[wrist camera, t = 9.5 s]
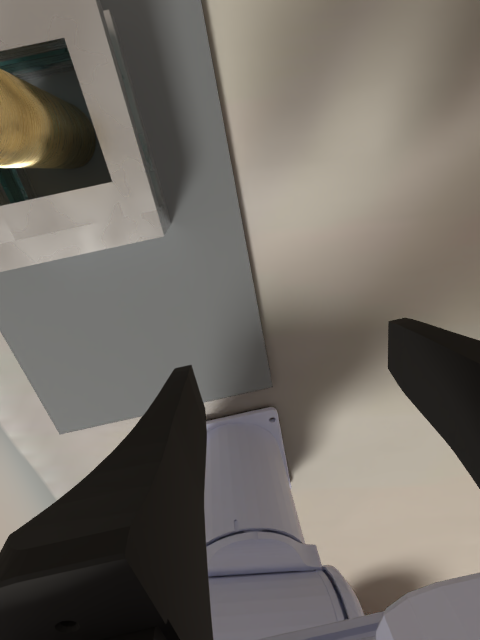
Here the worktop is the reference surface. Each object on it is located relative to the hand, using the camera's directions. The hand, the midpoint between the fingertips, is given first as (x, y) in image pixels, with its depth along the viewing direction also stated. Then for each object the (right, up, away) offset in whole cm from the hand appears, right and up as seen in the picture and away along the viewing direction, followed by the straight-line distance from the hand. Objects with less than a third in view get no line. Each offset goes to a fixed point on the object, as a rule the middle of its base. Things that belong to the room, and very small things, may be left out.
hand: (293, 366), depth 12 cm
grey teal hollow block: (-11, +12, +4) cm, 17 cm away
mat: (-10, +7, +7) cm, 14 cm away
